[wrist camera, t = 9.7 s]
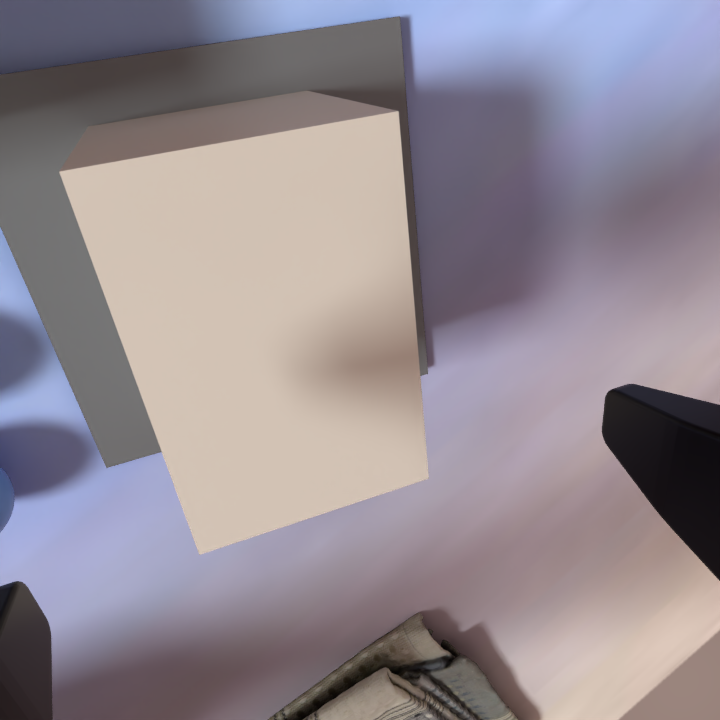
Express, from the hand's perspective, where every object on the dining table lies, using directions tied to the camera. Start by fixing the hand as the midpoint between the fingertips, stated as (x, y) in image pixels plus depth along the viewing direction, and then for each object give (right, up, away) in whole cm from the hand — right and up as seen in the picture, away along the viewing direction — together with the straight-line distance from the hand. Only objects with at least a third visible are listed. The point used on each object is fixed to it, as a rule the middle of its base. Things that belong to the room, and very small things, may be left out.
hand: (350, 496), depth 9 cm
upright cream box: (-4, +5, +10) cm, 12 cm away
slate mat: (-4, +5, +10) cm, 12 cm away
